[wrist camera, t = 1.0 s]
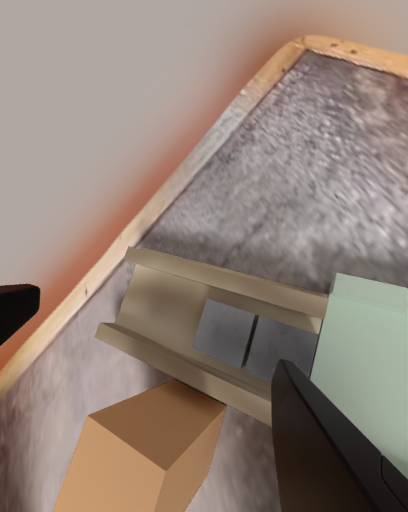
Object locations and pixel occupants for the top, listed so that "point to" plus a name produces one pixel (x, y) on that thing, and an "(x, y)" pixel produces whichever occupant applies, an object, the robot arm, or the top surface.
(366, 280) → the tray
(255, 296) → the slot board
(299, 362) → the chip
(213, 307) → the chip
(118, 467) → the tan rectangular block
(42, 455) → the top surface
